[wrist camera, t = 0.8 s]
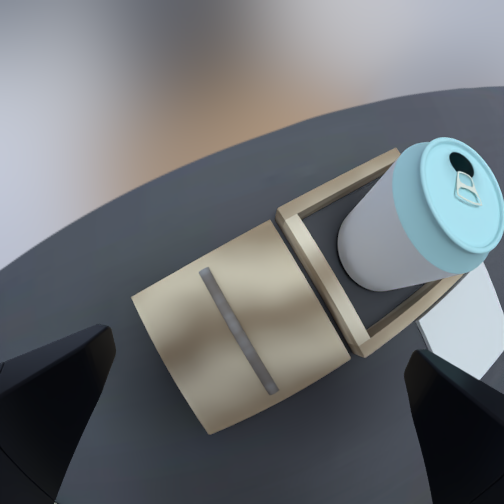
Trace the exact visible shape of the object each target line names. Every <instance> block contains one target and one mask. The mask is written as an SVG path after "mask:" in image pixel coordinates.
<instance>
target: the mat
mask: <svg viewBox="0 0 504 504" xmlns="http://www.w3.org/2000/svg"><path fill="white" fill-rule="evenodd" d="M415 322H416V324H417V326H418V328H419V330H420V332H421V334H422V337H423V339H424V341H425V343H426V345H427V348H428V350H429V351H431V352H433V353H434V354H436V355H438V356H439V357H441V358H443V359H444V360H446V361H448V362H450V363H451V364H453V365H455V366H456V367H458V368H460V369H461V370H463V371H465V372H467V373H468V374H470V375H472V376H473V377H475V378H477V379H478V380H480V379H481V378H482V376H483V375H484V374H485V373H486V372H487V371H488V369H489V368H490V367H491V366H492V364H493V363H494V362H495V361H496V359H497V358H498V357H499V356H500V354H501V353H502V352H503V350H504V314H503V311H502V308H501V306H500V303H499V300H498V297H497V294H496V292H495V289H494V287H493V284H492V282H491V279H490V277H489V274H488V272H487V270H486V267H485V265H484V263H483V262H482V263H481V264H480V265H479V266H478V267H477V268H475V269H474V270H472V271H470V272H467V273H466V274H465V275H464V276H463V277H462V278H461V279H460V280H459V281H458V282H457V283H456V284H455V285H454V286H453V287H452V288H451V289H450V290H449V291H448V292H446V293H445V294H444V295H443V296H442V297H441V298H440V299H439V300H438V301H437V302H436V303H435V304H434V305H432V306H431V307H430V308H429V309H428V310H427V311H426V312H425V313H423V314H422V315H421V316H420V317H419V318H418V319H416V320H415Z"/></svg>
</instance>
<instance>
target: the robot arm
mask: <svg viewBox="0 0 504 504" xmlns="http://www.w3.org/2000/svg"><path fill="white" fill-rule="evenodd" d="M115 354H116V347H115V343H114V338H113V334H112V330H111V328H110V327H109V326H106V325H101V324H97V325H94V326H92V327H89V328H87V329H84V330H82V331H79V332H77V333H74V334H72V335H70V336H67V337H65V338H62V339H60V340H57V341H55V342H52V343H50V344H47V345H45V346H42V347H40V348H37V349H35V350H32V351H30V352H27V353H25V354H22V355H20V356H17V357H15V358H12V359H10V360H7V361H6V362H2V363H0V504H54V503H55V499H56V497H57V494H58V491H59V489H60V486H61V484H62V481H63V478H64V476H65V473H66V471H67V468H68V466H69V464H70V461H71V459H72V457H73V454H74V452H75V450H76V447H77V445H78V443H79V440H80V438H81V436H82V434H83V432H84V429H85V427H86V425H87V423H88V421H89V419H90V416H91V414H92V412H93V410H94V408H95V406H96V404H97V402H98V400H99V397H100V395H101V393H102V390H103V387H104V385H105V382H106V379H107V376H108V374H109V371H110V368H111V366H112V363H113V360H114V358H115ZM404 378H405V383H406V388H407V393H408V398H409V403H410V408H411V413H412V418H413V421H414V425H415V429H416V432H417V436H418V439H419V443H420V447H421V451H422V455H423V459H424V463H425V467H426V472H427V476H428V481H429V486H430V491H431V496H432V501H433V504H504V394H502V393H500V392H499V391H497V390H495V389H494V388H492V387H490V386H488V385H487V384H485V383H483V382H482V381H480V380H478V379H477V378H475V377H473V376H472V375H470V374H468V373H467V372H465V371H463V370H461V369H460V368H458V367H456V366H455V365H453V364H451V363H450V362H448V361H446V360H444V359H443V358H441V357H439V356H438V355H436V354H434V353H433V352H431V351H429V350H427V349H417V350H415V351H414V352H413V353H412V356H411V358H410V360H409V362H408V365H407V367H406V369H405V372H404Z"/></svg>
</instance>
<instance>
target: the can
mask: <svg viewBox="0 0 504 504" xmlns="http://www.w3.org/2000/svg"><path fill="white" fill-rule="evenodd" d="M503 231H504V201H503V197H502V193H501V190H500V187H499V185H498V182H497V180H496V178H495V176H494V174H493V173H492V171H491V169H490V168H489V166H488V165H487V164H486V162H485V161H484V160H483V159H482V158H481V156H480V155H479V154H478V153H477V152H475V151H474V150H473V149H472V148H470V147H469V146H468V145H466V144H464V143H463V142H460V141H458V140H456V139H453V138H447V137H441V138H437V139H434V140H432V141H431V142H422V143H418V144H415V145H412V146H411V147H409V148H407V149H406V150H405V151H404V152H403V153H402V154H401V155H400V156H399V157H398V159H397V160H396V161H395V162H394V163H393V164H392V166H391V167H390V168H389V169H388V170H387V171H386V173H385V174H384V175H383V176H382V177H381V178H380V179H379V181H378V182H377V183H376V184H375V185H374V186H373V187H372V189H371V190H370V191H369V192H368V193H367V194H366V195H365V196H364V198H363V199H362V200H361V201H360V202H359V203H358V204H357V205H356V207H355V208H354V209H353V210H352V211H351V212H350V213H349V214H348V215H347V217H346V218H345V219H344V221H343V223H342V225H341V227H340V230H339V234H338V252H339V257H340V260H341V262H342V265H343V267H344V269H345V270H346V272H347V273H348V275H349V276H350V277H351V278H352V279H353V280H354V281H355V282H356V283H358V284H359V285H361V286H362V287H364V288H366V289H369V290H372V291H389V290H394V289H399V288H403V287H408V286H413V285H417V284H422V283H426V282H431V281H435V280H439V279H443V278H447V277H452V276H456V275H460V274H464V273H467V272H470V271H472V270H474V269H475V268H477V267H478V266H479V265H480V264H481V263H482V262H483V261H484V260H485V258H486V257H487V255H488V253H489V251H491V250H492V249H494V248H495V247H496V246H497V244H498V243H499V241H500V239H501V237H502V234H503Z"/></svg>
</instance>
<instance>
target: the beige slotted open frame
mask: <svg viewBox="0 0 504 504" xmlns="http://www.w3.org/2000/svg"><path fill="white" fill-rule="evenodd" d="M400 155H401V154H400V152H399V151H398V150H397V148H394V149H392V150H390V151H388V152H386V153H384V154H382V155H380V156H378V157H376V158H374V159H372V160H370V161H368V162H366V163H364V164H362V165H360V166H358V167H356V168H354V169H352V170H350V171H348V172H346V173H344V174H342V175H340V176H338V177H336V178H334V179H333V180H331V181H329V182H327V183H325V184H323V185H321V186H319V187H317V188H315V189H313V190H311V191H309V192H307V193H305V194H304V195H302V196H300V197H298V198H296V199H294V200H292V201H290V202H288V203H286V204H285V205H283V206H281V207H279V208H277V212H276V217H275V221H276V222H277V224H278V226H279V227H280V229H281V230H282V232H283V234H284V235H285V237H286V239H287V240H288V242H289V244H290V245H291V247H292V248H293V250H294V252H295V253H296V255H297V257H298V258H299V260H300V262H301V263H302V265H303V267H304V268H305V270H306V272H307V273H308V275H309V277H310V279H311V280H312V282H313V284H314V285H315V287H316V289H317V290H318V292H319V294H320V296H321V297H322V299H323V301H324V303H325V304H326V306H327V308H328V309H329V311H330V313H331V315H332V316H333V318H334V320H335V322H336V323H337V325H338V327H339V329H340V331H341V332H342V334H343V336H344V338H345V339H346V341H347V343H348V345H349V347H350V348H351V350H352V352H353V354H356V355H358V356H361V357H364V358H366V357H367V356H369V355H370V354H371V353H373V352H374V351H376V350H377V349H378V348H380V347H381V346H382V345H384V344H385V343H386V342H388V341H389V340H390V339H391V338H393V337H394V336H395V335H397V334H398V333H399V332H400V331H402V330H403V329H404V328H405V327H406V326H408V325H409V324H410V323H411V322H413V321H414V320H415V319H416V318H417V317H418V316H420V315H421V314H422V313H423V312H424V311H425V310H427V309H428V308H429V307H430V306H431V305H432V304H433V303H434V302H435V301H437V300H438V299H439V298H440V297H441V296H442V295H443V294H444V293H445V292H446V291H447V290H448V289H449V288H450V287H451V286H452V285H453V284H454V283H455V282H456V281H457V280H458V279H459V278H460V277H461V276H462V275H463V274H460V275H456V276H452V277H447V278H443V279H439V280H435V281H431V282H427V283H426V284H425V285H423V286H422V287H421V288H420V289H419V290H417V291H416V292H415V293H414V294H413V295H411V296H410V297H409V298H408V299H406V300H405V301H404V302H403V303H401V304H400V305H399V306H398V307H396V308H395V309H394V310H393V311H391V312H390V313H389V314H387V315H386V316H385V317H383V318H382V319H381V320H379V321H378V322H377V323H375V324H374V325H372V326H371V327H370V328H368V329H367V330H366V329H365V327H364V325H363V324H362V322H361V320H360V318H359V316H358V315H357V313H356V311H355V309H354V307H353V306H352V304H351V302H350V300H349V298H348V297H347V295H346V293H345V291H344V290H343V288H342V286H341V285H340V283H339V281H338V279H337V278H336V276H335V274H334V273H333V271H332V269H331V268H330V266H329V264H328V263H327V261H326V259H325V258H324V256H323V254H322V253H321V251H320V249H319V248H318V246H317V244H316V243H315V241H314V240H313V238H312V236H311V235H310V233H309V232H308V230H307V228H306V227H305V225H304V224H303V222H302V219H304V218H305V217H307V216H309V215H311V214H313V213H314V212H316V211H318V210H320V209H322V208H323V207H325V206H327V205H329V204H331V203H333V202H334V201H336V200H338V199H340V198H342V197H343V196H345V195H347V194H349V193H351V192H353V191H354V190H356V189H358V188H360V187H362V186H363V185H365V184H367V183H369V182H371V181H373V180H374V179H376V178H378V177H380V176H382V175H383V174H385V173H386V171H387V170H388V169H389V168H390V167H391V166H392V164H393V163H394V162H395V161H396V160H397V159H398V157H399V156H400ZM131 298H132V300H133V302H134V305H135V307H136V309H137V311H138V313H139V315H140V317H141V319H142V321H143V323H144V325H145V327H146V329H147V331H148V333H149V335H150V337H151V339H152V341H153V343H154V345H155V347H156V349H157V351H158V353H159V354H160V356H161V358H162V360H163V362H164V364H165V365H166V367H167V369H168V371H169V372H170V374H171V376H172V378H173V379H174V381H175V383H176V384H177V386H178V388H179V389H180V391H181V393H182V394H183V396H184V398H185V399H186V401H187V402H188V404H189V405H190V407H191V409H192V410H193V412H194V413H195V415H196V416H197V418H198V419H199V421H200V422H201V424H202V425H203V427H204V428H205V430H206V431H207V433H208V434H209V435H211V434H213V433H215V432H218V431H220V430H222V429H225V428H227V427H229V426H232V425H234V424H236V423H238V422H240V421H242V420H245V419H247V418H249V417H251V416H253V415H255V414H257V413H259V412H261V411H263V410H265V409H267V408H269V407H271V406H273V405H275V404H277V403H279V402H280V401H282V400H284V399H286V398H288V397H290V396H291V395H293V394H295V393H297V392H298V391H300V390H302V389H304V388H305V387H307V386H309V385H311V384H312V383H314V382H316V381H317V380H319V379H320V378H322V377H324V376H325V375H327V374H328V373H330V372H332V371H333V370H335V369H336V368H338V367H339V366H341V365H342V364H344V363H345V362H347V361H348V360H350V359H351V357H350V355H349V354H348V352H347V350H346V348H345V346H344V345H343V343H342V341H341V339H340V337H339V336H338V334H337V332H336V330H335V329H334V327H333V325H332V323H331V322H330V320H329V318H328V316H327V315H326V313H325V311H324V309H323V308H322V306H321V304H320V302H319V301H318V299H317V297H316V296H315V294H314V292H313V290H312V289H311V287H310V285H309V284H308V282H307V280H306V279H305V277H304V275H303V273H302V272H301V270H300V268H299V267H298V265H297V263H296V262H295V260H294V258H293V257H292V255H291V253H290V252H289V250H288V248H287V247H286V245H285V243H284V242H283V240H282V238H281V237H280V235H279V234H278V232H277V230H276V229H275V227H274V225H273V224H272V222H271V221H270V220H268V221H266V222H264V223H263V224H261V225H259V226H257V227H255V228H253V229H252V230H250V231H248V232H246V233H244V234H242V235H241V236H239V237H237V238H235V239H233V240H232V241H230V242H228V243H226V244H224V245H222V246H221V247H219V248H217V249H215V250H213V251H212V252H210V253H208V254H206V255H205V256H203V257H201V258H199V259H197V260H196V261H194V262H192V263H190V264H189V265H187V266H185V267H183V268H181V269H180V270H178V271H176V272H174V273H173V274H171V275H169V276H167V277H166V278H164V279H162V280H160V281H159V282H157V283H155V284H153V285H152V286H150V287H148V288H146V289H145V290H143V291H141V292H139V293H138V294H136V295H134V296H133V297H131Z"/></svg>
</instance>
